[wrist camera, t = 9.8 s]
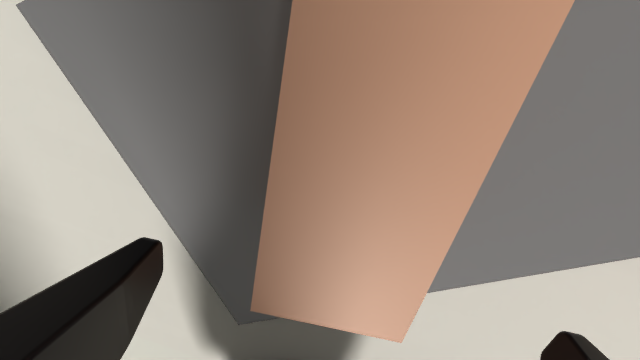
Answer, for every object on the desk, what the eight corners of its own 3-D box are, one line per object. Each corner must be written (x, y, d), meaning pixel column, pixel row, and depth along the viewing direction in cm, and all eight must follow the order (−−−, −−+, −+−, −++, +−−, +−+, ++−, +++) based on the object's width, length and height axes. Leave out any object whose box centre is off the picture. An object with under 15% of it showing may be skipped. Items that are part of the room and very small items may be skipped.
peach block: (401, 342, 12) (686, -221, 5) (250, 310, 12) (333, -303, 5) (391, 241, 16) (538, -138, 9) (280, 217, 16) (347, -182, 9)
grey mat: (241, 317, 21) (238, 324, 20) (27, 3, 13) (15, 4, 12) (657, 244, 15) (666, 252, 15) (713, -354, 8) (735, -373, 7)
